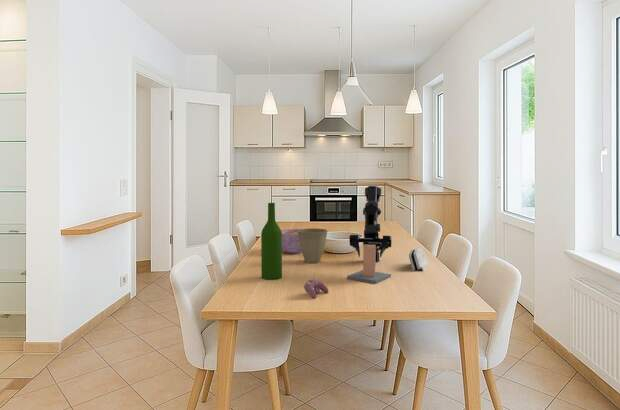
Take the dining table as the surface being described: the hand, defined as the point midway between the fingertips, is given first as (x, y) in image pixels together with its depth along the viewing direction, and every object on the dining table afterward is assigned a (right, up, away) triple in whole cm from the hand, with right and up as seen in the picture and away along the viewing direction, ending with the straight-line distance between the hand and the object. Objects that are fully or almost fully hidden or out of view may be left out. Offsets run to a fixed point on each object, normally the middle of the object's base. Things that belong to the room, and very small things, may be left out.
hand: (369, 256), depth 211 cm
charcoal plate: (0, -9, -2) cm, 9 cm away
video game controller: (-24, -12, -28) cm, 39 cm away
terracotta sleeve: (-1, -8, -2) cm, 8 cm away
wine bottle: (-43, -9, -2) cm, 44 cm away
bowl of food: (-35, -4, +55) cm, 65 cm away
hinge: (+26, -7, +20) cm, 33 cm away
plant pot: (-25, -6, +31) cm, 40 cm away
